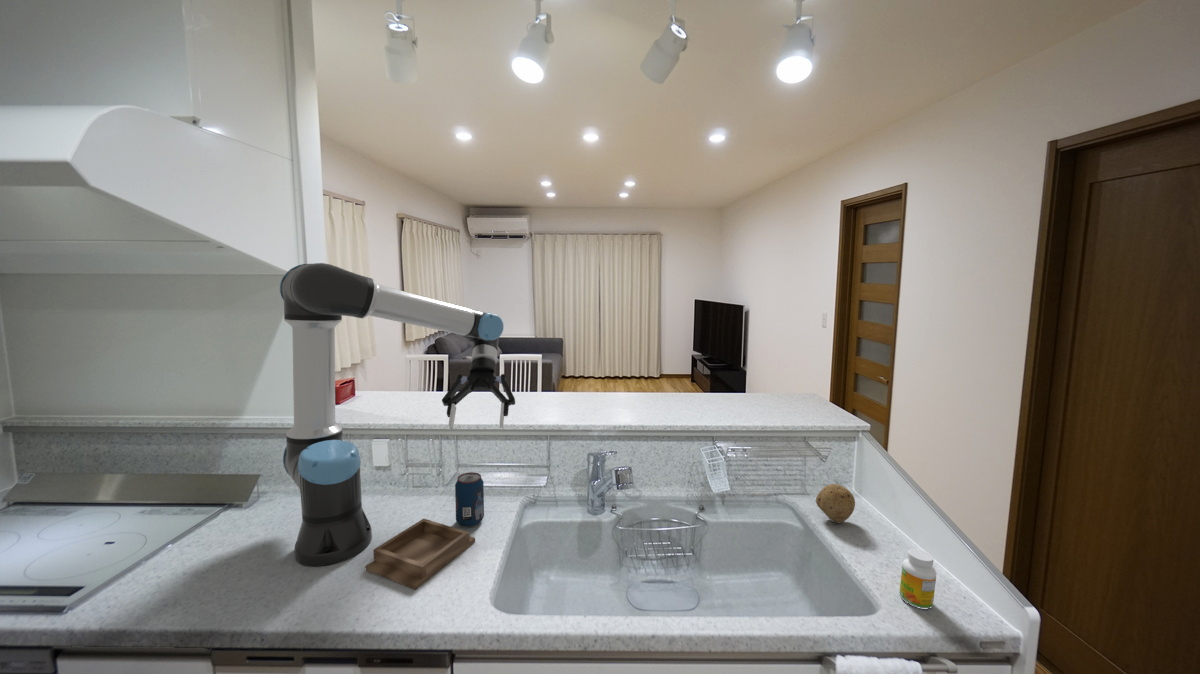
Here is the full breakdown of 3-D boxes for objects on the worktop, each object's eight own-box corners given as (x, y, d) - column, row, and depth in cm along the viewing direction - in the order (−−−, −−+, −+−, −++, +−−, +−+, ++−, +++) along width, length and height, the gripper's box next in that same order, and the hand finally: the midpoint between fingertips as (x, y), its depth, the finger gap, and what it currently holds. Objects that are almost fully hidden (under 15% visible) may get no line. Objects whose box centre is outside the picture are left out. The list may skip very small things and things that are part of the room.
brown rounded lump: (809, 519, 115) (812, 483, 114) (822, 508, 121) (825, 474, 120) (846, 534, 108) (850, 496, 107) (858, 522, 114) (862, 485, 113)
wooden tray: (365, 570, 92) (365, 554, 92) (430, 527, 109) (429, 514, 108) (415, 589, 87) (414, 573, 86) (475, 541, 103) (474, 527, 103)
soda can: (459, 514, 115) (458, 471, 113) (486, 514, 115) (485, 471, 114) (452, 529, 108) (451, 483, 107) (481, 528, 108) (480, 483, 107)
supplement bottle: (892, 591, 88) (897, 546, 87) (917, 590, 89) (922, 546, 87) (913, 611, 83) (918, 563, 82) (940, 610, 83) (945, 562, 82)
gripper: (525, 369, 137) (522, 431, 124) (444, 370, 134) (432, 433, 121) (524, 355, 131) (521, 419, 118) (439, 356, 128) (426, 421, 115)
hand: (476, 426), depth 120 cm, fingers open, 13 cm apart
